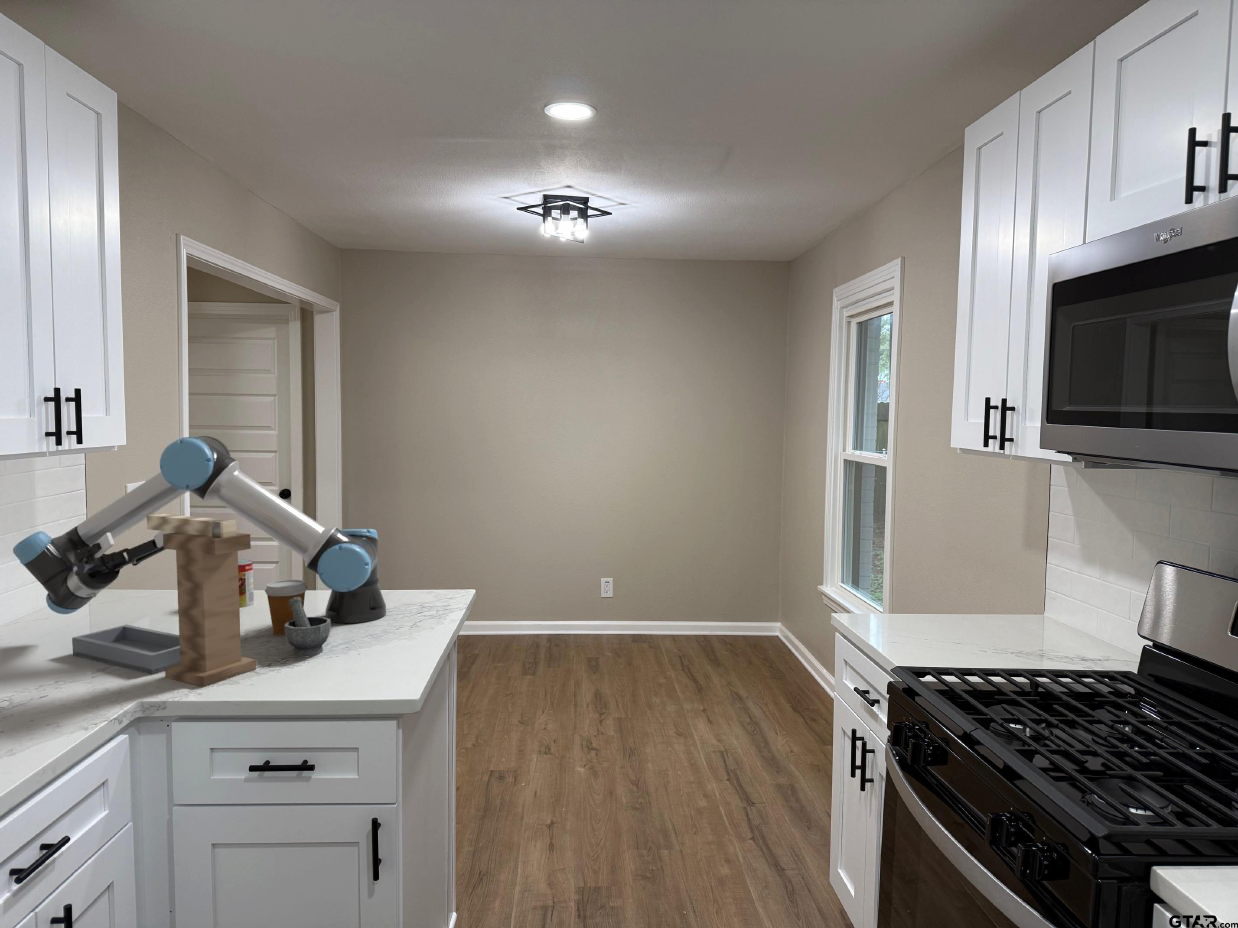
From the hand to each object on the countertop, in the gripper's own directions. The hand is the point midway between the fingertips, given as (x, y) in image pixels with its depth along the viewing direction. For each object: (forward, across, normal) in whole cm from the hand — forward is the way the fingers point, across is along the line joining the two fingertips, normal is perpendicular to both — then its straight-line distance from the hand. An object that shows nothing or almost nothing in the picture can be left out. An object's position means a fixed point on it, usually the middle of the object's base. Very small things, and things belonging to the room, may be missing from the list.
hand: (142, 533), depth 173 cm
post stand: (+4, 0, -34) cm, 34 cm away
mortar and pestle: (+9, -20, -37) cm, 43 cm away
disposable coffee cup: (-6, -29, -29) cm, 41 cm away
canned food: (-36, -42, -12) cm, 56 cm away
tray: (-17, 0, -22) cm, 28 cm away
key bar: (+14, 0, -7) cm, 15 cm away
